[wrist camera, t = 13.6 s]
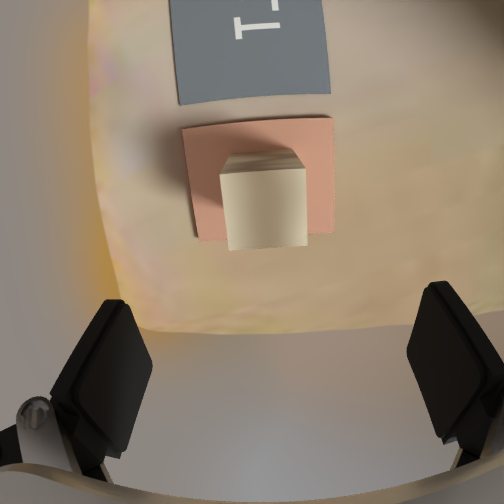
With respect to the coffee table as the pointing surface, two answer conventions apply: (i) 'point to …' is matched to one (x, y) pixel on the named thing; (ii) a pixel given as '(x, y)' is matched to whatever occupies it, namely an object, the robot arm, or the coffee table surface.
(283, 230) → the maple block
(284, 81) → the gray tile
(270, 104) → the coffee table surface
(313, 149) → the pad
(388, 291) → the coffee table surface
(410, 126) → the coffee table surface
